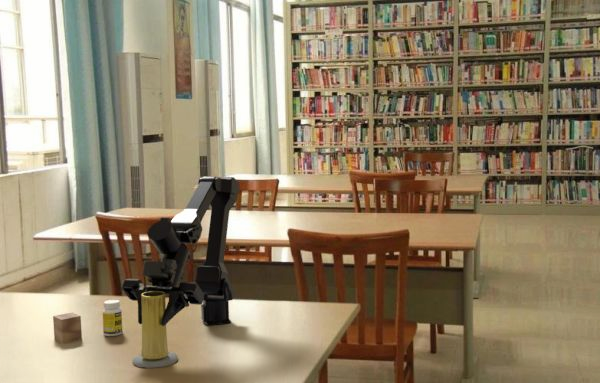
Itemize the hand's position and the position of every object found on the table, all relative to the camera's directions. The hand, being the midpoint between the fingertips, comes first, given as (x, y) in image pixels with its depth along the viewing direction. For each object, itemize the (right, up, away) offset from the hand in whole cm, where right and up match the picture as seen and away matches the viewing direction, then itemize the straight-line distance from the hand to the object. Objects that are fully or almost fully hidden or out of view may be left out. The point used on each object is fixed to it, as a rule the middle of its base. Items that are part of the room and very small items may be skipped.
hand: (151, 324), depth 166 cm
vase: (0, -8, +2) cm, 8 cm away
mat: (+1, -9, +2) cm, 9 cm away
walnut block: (-25, -7, +20) cm, 33 cm away
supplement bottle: (-15, -7, +24) cm, 29 cm away
